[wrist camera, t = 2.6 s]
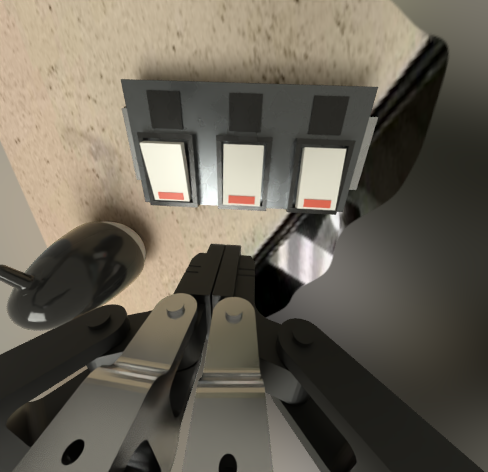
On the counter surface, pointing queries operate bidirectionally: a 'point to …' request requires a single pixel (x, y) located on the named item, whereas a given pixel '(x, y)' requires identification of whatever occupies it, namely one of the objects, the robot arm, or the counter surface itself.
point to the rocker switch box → (249, 133)
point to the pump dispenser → (74, 275)
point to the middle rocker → (242, 174)
